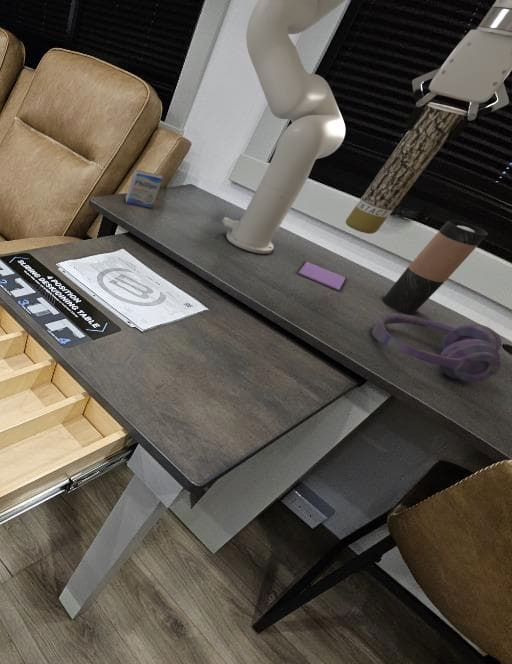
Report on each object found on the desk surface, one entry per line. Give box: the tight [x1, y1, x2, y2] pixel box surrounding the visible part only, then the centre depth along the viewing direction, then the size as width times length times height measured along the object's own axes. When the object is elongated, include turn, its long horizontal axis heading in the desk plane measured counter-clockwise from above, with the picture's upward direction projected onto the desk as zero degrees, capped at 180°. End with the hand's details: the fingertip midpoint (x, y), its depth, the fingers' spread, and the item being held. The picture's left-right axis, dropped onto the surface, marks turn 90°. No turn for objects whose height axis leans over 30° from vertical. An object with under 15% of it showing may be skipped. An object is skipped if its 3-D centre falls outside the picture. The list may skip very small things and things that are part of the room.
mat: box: [297, 261, 346, 292], centre depth 117 cm, size 10×10×1 cm
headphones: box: [371, 312, 502, 383], centre depth 92 cm, size 18×8×20 cm
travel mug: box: [383, 219, 488, 314], centre depth 104 cm, size 8×8×20 cm
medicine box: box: [125, 169, 163, 209], centre depth 133 cm, size 8×4×9 cm, turn 80°
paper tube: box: [345, 101, 467, 235], centre depth 97 cm, size 7×7×25 cm
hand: (427, 134), depth 92 cm, fingers closed on paper tube, 6 cm apart
